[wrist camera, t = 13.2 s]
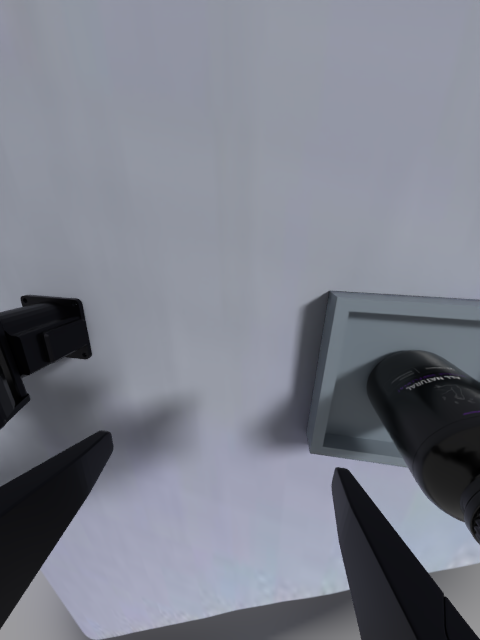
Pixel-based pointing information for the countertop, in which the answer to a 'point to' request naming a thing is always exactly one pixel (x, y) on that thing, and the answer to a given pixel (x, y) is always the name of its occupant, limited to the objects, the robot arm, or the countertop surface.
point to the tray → (367, 351)
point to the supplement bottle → (433, 427)
